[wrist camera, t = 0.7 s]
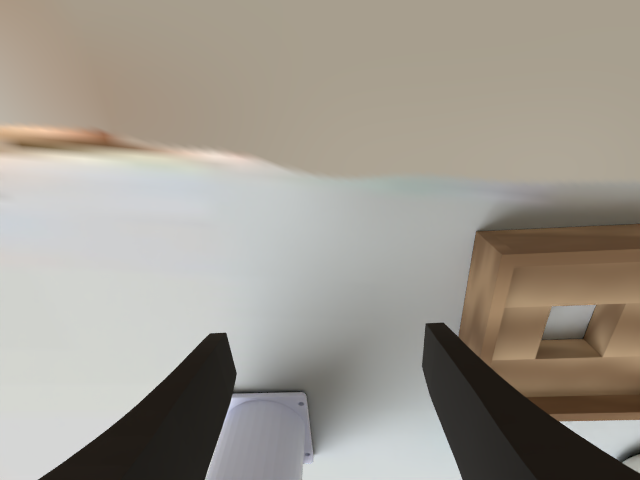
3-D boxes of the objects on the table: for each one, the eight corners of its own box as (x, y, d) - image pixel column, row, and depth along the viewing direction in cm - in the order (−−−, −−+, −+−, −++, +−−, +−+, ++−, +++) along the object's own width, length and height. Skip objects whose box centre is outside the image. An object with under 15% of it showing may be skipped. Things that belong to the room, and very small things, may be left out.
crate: (625, 381, 25) (665, 419, 22) (450, 385, 25) (466, 423, 23) (706, 220, 19) (775, 243, 16) (476, 231, 20) (502, 254, 17)
